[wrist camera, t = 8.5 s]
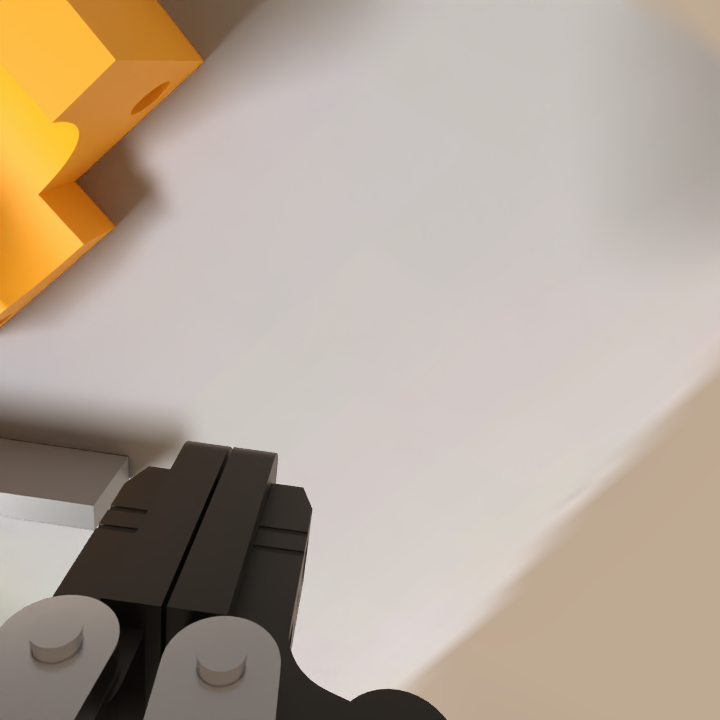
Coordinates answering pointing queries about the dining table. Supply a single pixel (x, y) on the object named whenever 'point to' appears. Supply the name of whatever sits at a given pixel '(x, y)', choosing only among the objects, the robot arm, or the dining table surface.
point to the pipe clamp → (70, 122)
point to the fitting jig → (58, 483)
